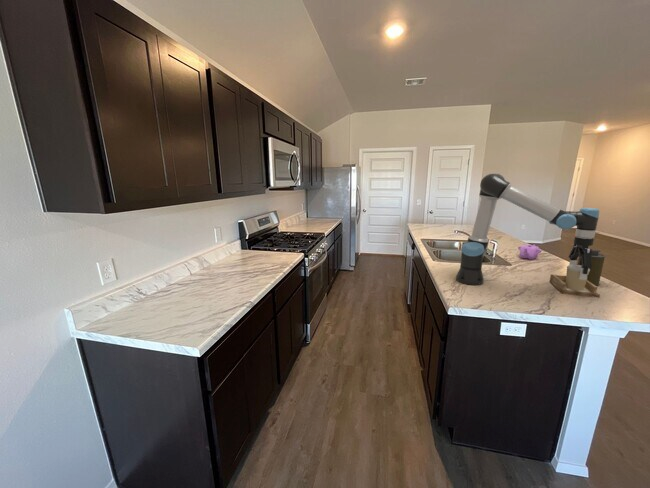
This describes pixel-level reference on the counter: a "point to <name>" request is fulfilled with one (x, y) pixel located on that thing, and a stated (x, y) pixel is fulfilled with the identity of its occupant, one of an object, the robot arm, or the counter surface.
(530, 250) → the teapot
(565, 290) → the dock
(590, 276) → the canister
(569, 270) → the coffee cup
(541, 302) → the counter surface
